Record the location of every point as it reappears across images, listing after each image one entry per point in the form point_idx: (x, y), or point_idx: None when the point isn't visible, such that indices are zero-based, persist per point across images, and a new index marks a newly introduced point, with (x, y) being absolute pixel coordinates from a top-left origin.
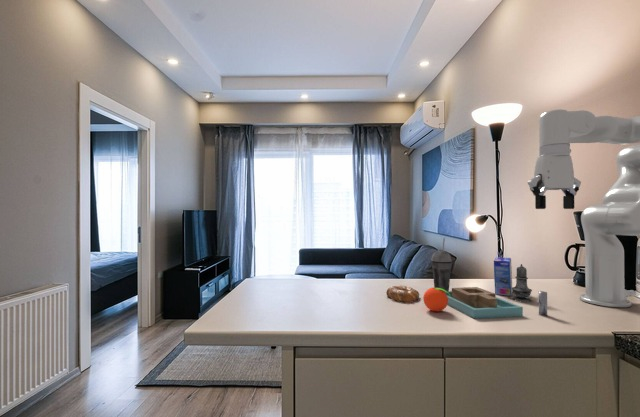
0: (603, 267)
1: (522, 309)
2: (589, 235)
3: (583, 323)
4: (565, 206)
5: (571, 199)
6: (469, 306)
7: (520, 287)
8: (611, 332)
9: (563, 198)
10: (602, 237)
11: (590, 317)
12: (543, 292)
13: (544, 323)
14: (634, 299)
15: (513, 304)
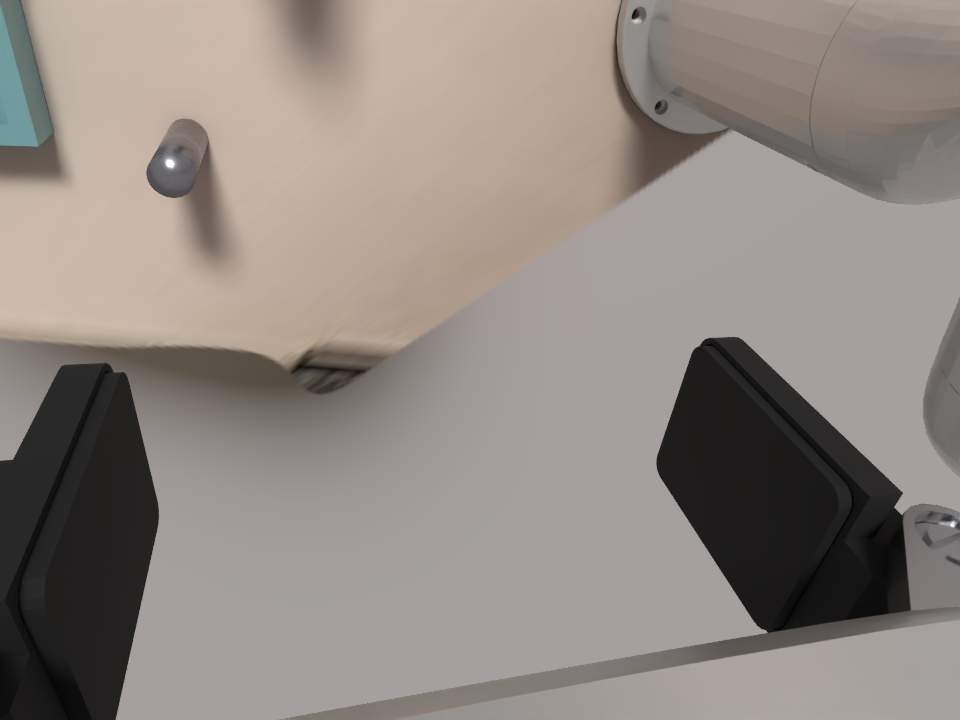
0: (759, 121)
1: (41, 143)
2: (952, 86)
3: (287, 267)
4: (703, 395)
5: (731, 573)
6: None
7: None
8: (304, 353)
9: (813, 465)
10: (944, 168)
11: (392, 209)
12: (167, 186)
13: (103, 243)
14: None
15: (7, 85)
